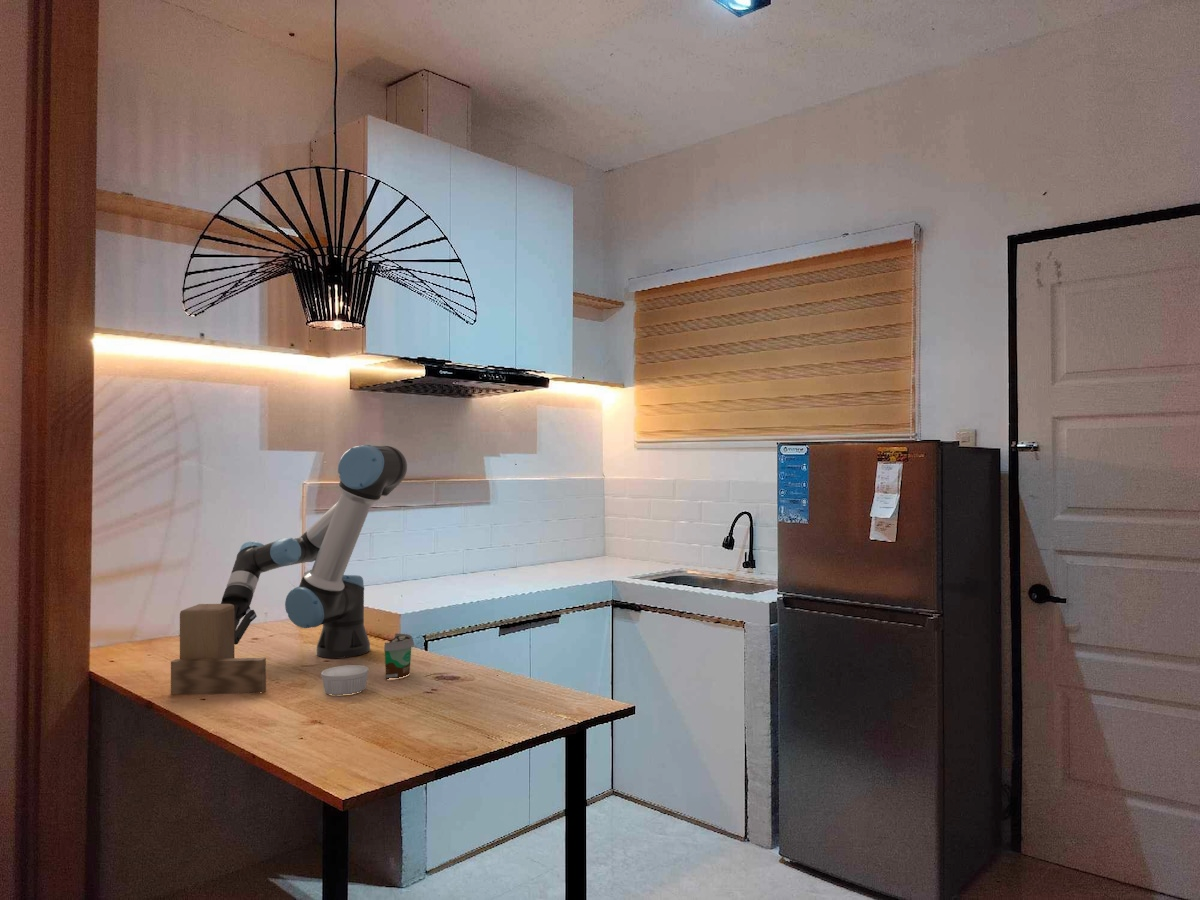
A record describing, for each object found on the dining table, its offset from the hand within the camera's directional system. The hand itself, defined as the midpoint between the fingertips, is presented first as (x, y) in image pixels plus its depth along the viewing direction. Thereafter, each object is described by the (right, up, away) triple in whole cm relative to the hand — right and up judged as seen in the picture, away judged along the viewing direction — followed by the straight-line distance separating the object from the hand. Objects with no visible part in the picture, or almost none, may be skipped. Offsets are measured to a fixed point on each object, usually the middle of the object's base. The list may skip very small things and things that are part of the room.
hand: (214, 666), depth 216 cm
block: (+1, -4, -6) cm, 7 cm away
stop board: (+7, -3, -12) cm, 15 cm away
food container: (+48, -3, +2) cm, 49 cm away
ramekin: (+38, -3, -12) cm, 40 cm away
